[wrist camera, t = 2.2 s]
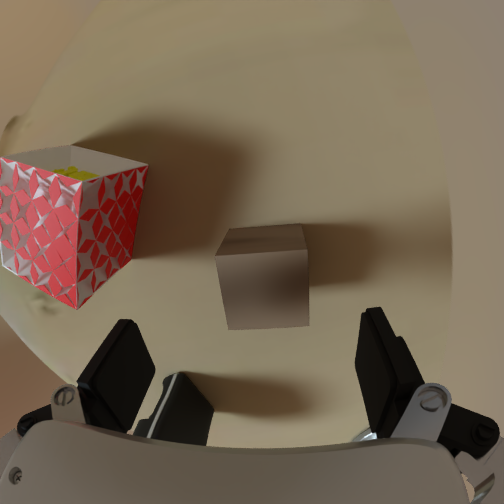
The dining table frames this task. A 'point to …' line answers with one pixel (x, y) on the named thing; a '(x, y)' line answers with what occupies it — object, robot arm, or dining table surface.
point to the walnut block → (264, 277)
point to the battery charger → (178, 414)
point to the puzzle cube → (68, 218)
